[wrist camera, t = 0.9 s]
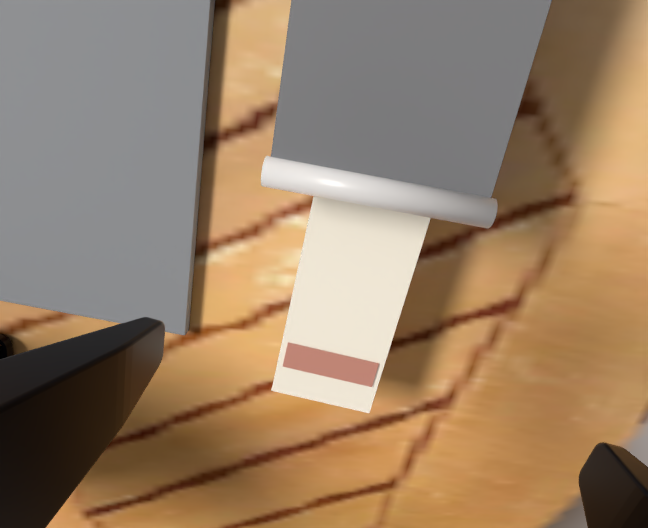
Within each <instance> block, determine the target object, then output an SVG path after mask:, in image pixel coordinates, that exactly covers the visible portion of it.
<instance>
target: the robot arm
mask: <svg viewBox="0 0 648 528" xmlns="http://www.w3.org/2000/svg"><path fill="white" fill-rule="evenodd" d="M164 336H165V324H164V323H163V321H160V320H156V319H153V318H149V317H142V318H139V319H135V320H132V321H128V322H125V323H122V324H118V325H115V326H112V327H108V328H105V329H101V330H98V331H95V332H91V333H88V334H84V335H81V336H78V337H74V338H71V339H67V340H64V341H61V342H57V343H54V344H50V345H47V346H44V347H40V348H37V349H33V350H30V351H27V352H23V353H20V354H16V355H13V350H12V342H11V340H10V339H9V338H8V337H7V336H5V335H2V334H0V345H1V346H0V528H46V527H47V525H48V524H49V523H50V521H51V520H52V519H53V517H54V516H55V515H56V513H57V512H58V511H59V509H60V508H61V507H62V506H63V504H64V503H65V502H66V500H67V499H68V498H69V496H70V495H71V494H72V492H73V491H74V490H75V488H76V487H77V486H78V484H79V483H80V482H81V481H82V479H83V478H84V477H85V475H86V474H87V473H88V471H89V470H90V469H91V467H92V466H93V465H94V463H95V462H96V461H97V460H98V458H99V457H100V456H101V454H102V453H103V452H104V450H105V449H106V448H107V446H108V445H109V444H110V442H111V441H112V440H113V438H114V437H115V436H116V434H117V433H118V432H119V430H120V429H121V428H122V426H123V425H124V423H125V421H126V420H127V418H128V417H129V415H130V413H131V412H132V410H133V408H134V407H135V405H136V403H137V402H138V400H139V398H140V397H141V395H142V393H143V392H144V390H145V388H146V387H147V385H148V383H149V382H150V380H151V378H152V377H153V375H154V373H155V372H156V370H157V368H158V367H159V365H160V363H161V360H162V357H163V348H164ZM579 487H580V492H581V497H582V502H583V506H584V511H585V516H586V521H587V526H588V528H648V467H647V466H646V465H645V464H643V463H642V462H641V461H639V460H638V459H637V458H636V457H635V456H633V455H632V454H631V453H630V452H628V451H627V450H626V449H624V448H622V447H619V446H616V445H612V444H608V443H604V442H602V443H599V444H597V445H596V446H595V448H594V449H593V451H592V453H591V454H590V456H589V458H588V459H587V461H586V463H585V464H584V466H583V468H582V469H581V471H580V474H579Z"/></svg>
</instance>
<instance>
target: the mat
mask: <svg viewBox="0 0 648 528" xmlns="http://www.w3.org/2000/svg"><path fill="white" fill-rule="evenodd" d="M214 8H215V0H0V301H6V302H11V303H16V304H21V305H27V306H32V307H37V308H43V309H48V310H53V311H59V312H64V313H69V314H75V315H80V316H85V317H90V318H96V319H101V320H106V321H112V322H117V323H125V322H128V321H132V320H135V319H139V318H142V317H149V318H153V319H156V320H160V321H163V323H164V324H165V332H170V333H175V334H181V335H185V334H186V333H187V331H188V330H189V322H190V309H191V297H192V284H193V272H194V259H195V246H196V234H197V221H198V209H199V196H200V184H201V171H202V159H203V146H204V133H205V121H206V108H207V96H208V83H209V71H210V58H211V46H212V33H213V20H214Z"/></svg>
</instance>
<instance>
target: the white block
mask: <svg viewBox="0 0 648 528" xmlns="http://www.w3.org/2000/svg"><path fill="white" fill-rule="evenodd" d="M430 219H431V218H429V217H423V216H418V215H413V214H407V213H402V212H397V211H391V210H386V209H381V208H375V207H370V206H365V205H359V204H354V203H349V202H343V201H338V200H333V199H327V198H322V197H317V196H314V197H313V202H312V206H311V211H310V216H309V220H308V225H307V229H306V234H305V239H304V243H303V248H302V252H301V257H300V262H299V266H298V271H297V275H296V280H295V285H294V289H293V294H292V298H291V303H290V308H289V312H288V317H287V321H286V326H285V331H284V335H283V340H282V344H281V349H280V354H279V358H278V363H277V367H276V372H275V377H274V381H273V386H272V390H271V391H275V392H280V393H284V394H288V395H293V396H297V397H301V398H306V399H310V400H314V401H319V402H323V403H327V404H332V405H336V406H340V407H345V408H349V409H353V410H358V411H362V412H366V413H370V409H371V406H372V403H373V400H374V397H375V393H376V390H377V387H378V384H379V381H380V378H381V374H382V371H383V368H384V365H385V362H386V359H387V355H388V352H389V349H390V346H391V343H392V339H393V336H394V333H395V330H396V327H397V324H398V320H399V317H400V314H401V311H402V308H403V305H404V301H405V298H406V295H407V292H408V289H409V285H410V282H411V279H412V276H413V273H414V270H415V266H416V263H417V260H418V257H419V254H420V251H421V247H422V244H423V241H424V238H425V235H426V231H427V228H428V225H429V222H430Z"/></svg>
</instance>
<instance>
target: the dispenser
mask: <svg viewBox="0 0 648 528" xmlns="http://www.w3.org/2000/svg"><path fill="white" fill-rule="evenodd" d="M551 1H552V0H292V1H291V8H290V16H289V23H288V31H287V39H286V46H285V54H284V61H283V69H282V77H281V84H280V92H279V100H278V107H277V115H276V122H275V130H274V138H273V145H272V153H271V157H270V156H266V157H265V159H264V163H263V167H262V173H261V186H263V187H269V188H274V189H279V190H285V191H290V192H295V193H301V194H306V195H311V196H317V197H322V198H327V199H333V200H338V201H343V202H349V203H354V204H359V205H365V206H370V207H375V208H381V209H386V210H391V211H397V212H402V213H407V214H413V215H418V216H423V217H429V218H434V219H439V220H445V221H450V222H455V223H461V224H466V225H471V226H477V227H482V228H487V229H488V228H490V227H491V226H492V224H493V222H494V220H495V217H496V214H497V207H498V204H497V200H496V199H495V198H491V197H492V193H493V190H494V187H495V184H496V180H497V177H498V174H499V171H500V167H501V164H502V161H503V158H504V154H505V151H506V148H507V145H508V141H509V138H510V135H511V132H512V128H513V125H514V122H515V119H516V115H517V112H518V109H519V106H520V102H521V99H522V96H523V93H524V89H525V86H526V83H527V80H528V76H529V73H530V70H531V67H532V63H533V60H534V57H535V53H536V50H537V47H538V44H539V40H540V37H541V34H542V31H543V27H544V24H545V21H546V18H547V14H548V11H549V8H550V5H551Z"/></svg>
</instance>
